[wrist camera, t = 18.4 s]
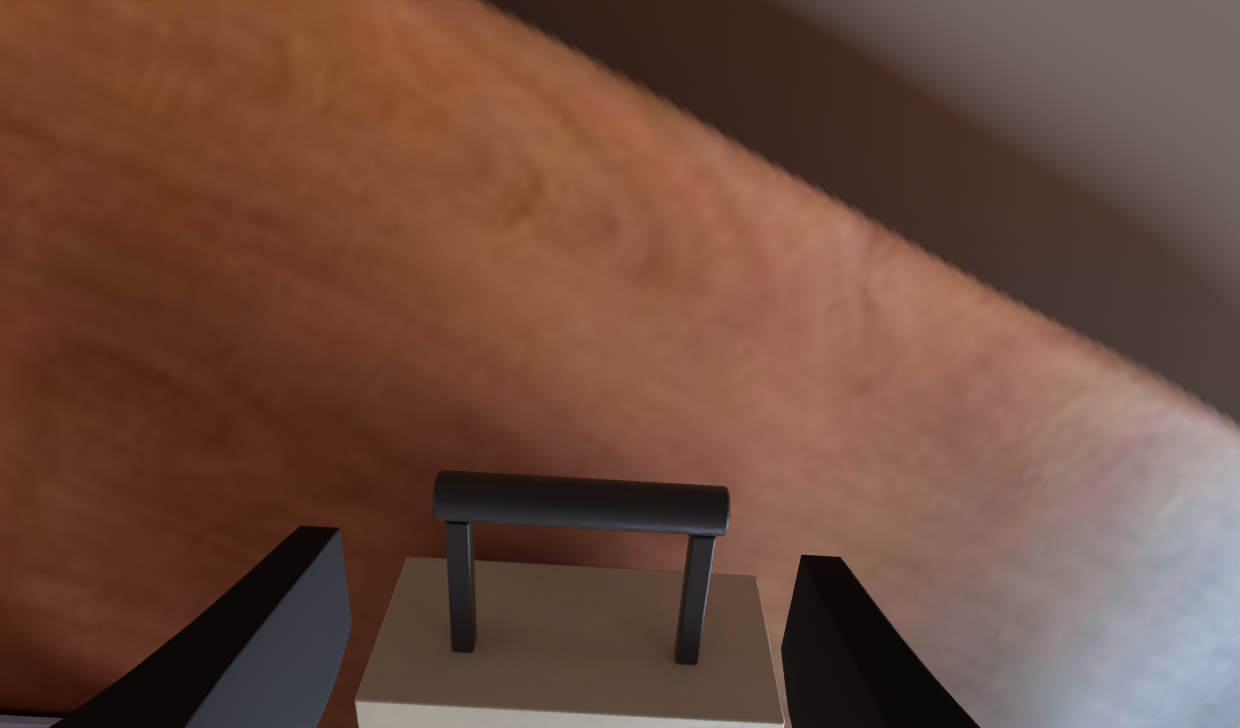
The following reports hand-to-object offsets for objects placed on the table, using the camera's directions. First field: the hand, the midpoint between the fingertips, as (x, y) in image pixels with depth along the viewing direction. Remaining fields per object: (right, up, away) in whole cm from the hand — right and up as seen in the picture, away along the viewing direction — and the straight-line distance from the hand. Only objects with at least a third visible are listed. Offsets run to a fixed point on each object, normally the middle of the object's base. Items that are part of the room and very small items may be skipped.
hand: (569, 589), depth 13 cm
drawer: (-1, -5, +14) cm, 15 cm away
